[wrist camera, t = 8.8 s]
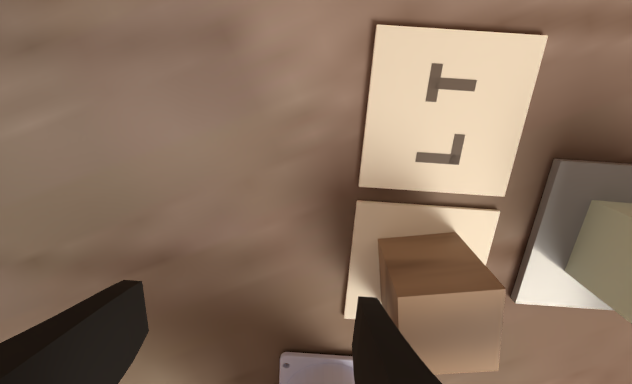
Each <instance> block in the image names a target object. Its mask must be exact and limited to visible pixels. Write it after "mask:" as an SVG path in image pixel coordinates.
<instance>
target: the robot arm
mask: <svg viewBox="0 0 632 384" xmlns="http://www.w3.org/2000/svg"><path fill="white" fill-rule="evenodd" d="M148 331H149V329H148V322H147V314H146V307H145V300H144V292H143V285H142V281H130V280H123V281H121V282H119V283H116V284H114V285H112V286H110V287H108V288H106V289H105V290H103V291H101V292H99V293H97V294H95V295H93V296H91V297H89V298H88V299H86V300H84V301H82V302H80V303H78V304H76V305H75V306H73V307H71V308H69V309H67V310H65V311H63V312H61V313H60V314H58V315H56V316H54V317H52V318H50V319H48V320H46V321H44V322H42V323H40V324H38V325H36V326H34V327H32V328H30V329H28V330H26V331H24V332H22V333H20V334H18V335H16V336H14V337H12V338H10V339H8V340H6V341H4V342H2V343H0V384H118V383H119V382H120V380H121V379H122V377H123V376H124V374H125V373H126V371H127V370H128V368H129V367H130V365H131V364H132V362H133V360H134V359H135V357H136V355H137V353H138V351H139V349H140V347H141V346H142V344H143V341H144V339H145V337H146V335H147V333H148ZM352 353H353V356H339V355H325V354H311V353H296V352H284V353H282V354H281V357H280V374H279V384H442V383H441V382H440V381H439V380H438V379H437V378H436V376H435V375H434V374H433V373H432V372H431V371H430V369H429V368H428V367H427V366H426V365H425V363H424V362H423V361H422V360H421V359H420V357H419V356H418V355H417V353H416V352H415V351H414V350H413V348H412V347H411V346H410V344H409V343H408V342H407V340H406V339H405V338H404V336H403V335H402V334H401V332H400V331H399V329H398V328H397V327H396V325H395V324H394V322H393V321H392V319H391V318H390V316H389V315H388V313H387V312H386V310H385V309H384V307H383V306H382V304H381V302H380V301H379V300H378V299H377V298H376V297H362V296H358V302H357V310H356V318H355V326H354V334H353V342H352ZM285 363H288V364H285Z"/></svg>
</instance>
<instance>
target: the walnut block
mask: <svg viewBox="0 0 632 384" xmlns="http://www.w3.org/2000/svg"><path fill="white" fill-rule="evenodd" d="M378 253H379V271H380V289H381V303H382V306H383V307H384V309H385V310H386V312H387V313H388V315H389V316H390V318H391V319H392V321H393V322H394V324H395V325H396V327H397V328H398V329H399V331H400V332H401V334H402V335H403V336H404V338H405V339H406V340H407V342H408V343H409V344H410V346H411V347H412V348H413V350H414V351H415V352H416V353H417V355H418V356H419V357H420V359H421V360H422V361H423V362H424V363H425V365H426V366H427V367H428V368H429V369H430V371H431V372H432V373H433V374H434V375H439V374H455V373H471V372H487V371H498V369H499V358H500V347H501V337H502V326H503V316H504V305H505V294H506V289H505V287H504V286H503V285H502V284H501V283H500V282H499V281H498V279H497V278H496V277H495V276H494V275H493V274H492V273H491V271H490V270H489V269H488V268H487V267H486V266H485V265H484V264H483V262H482V261H481V260H480V259H479V258H478V257H477V256H476V254H475V253H474V252H473V251H472V250H471V249H470V248H469V246H468V245H467V244H466V243H465V242H464V241H463V240H462V239H461V237H460V236H459V235H458V234H457V233H456V232H450V233H438V234H427V235H415V236H404V237H393V238H381V239H378Z"/></svg>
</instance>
